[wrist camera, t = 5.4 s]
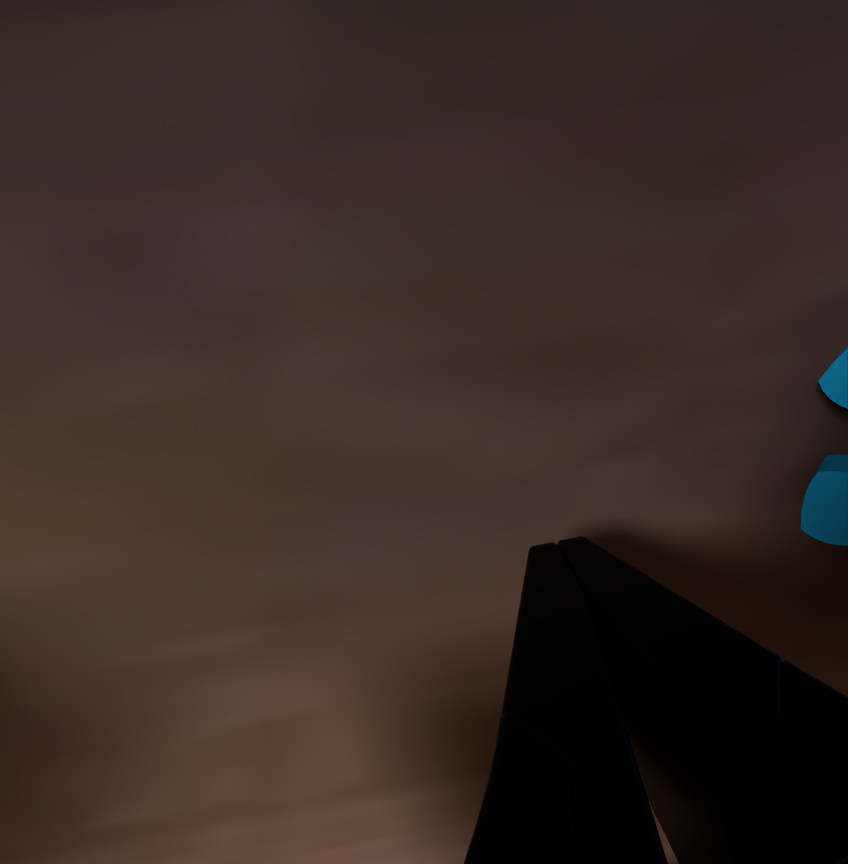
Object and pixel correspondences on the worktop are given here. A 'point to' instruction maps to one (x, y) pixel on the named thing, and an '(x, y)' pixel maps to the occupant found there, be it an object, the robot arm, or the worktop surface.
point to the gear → (830, 472)
